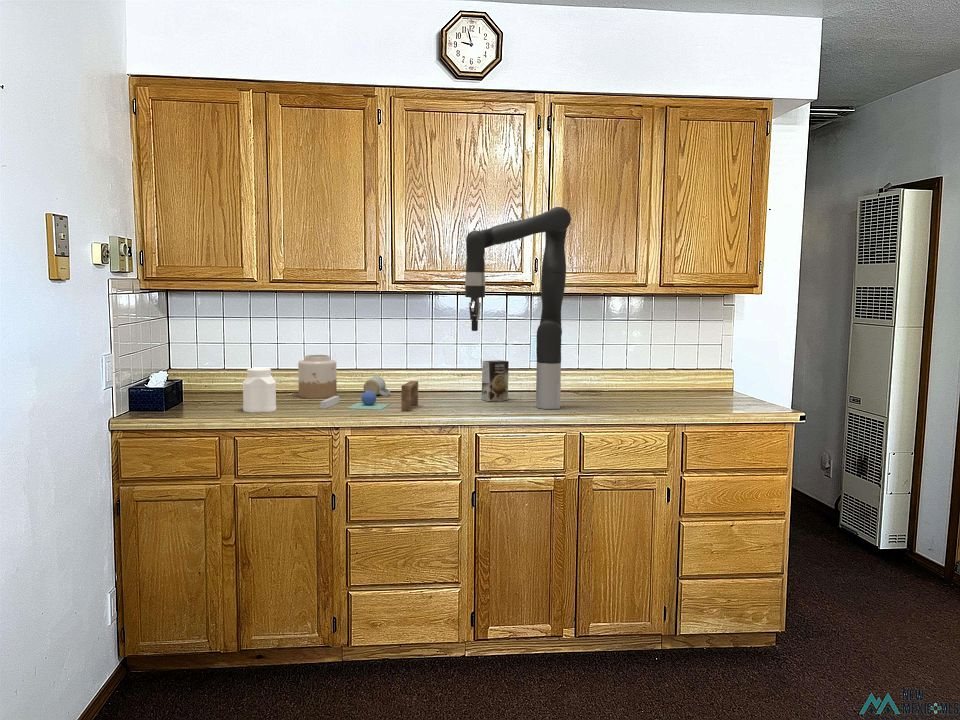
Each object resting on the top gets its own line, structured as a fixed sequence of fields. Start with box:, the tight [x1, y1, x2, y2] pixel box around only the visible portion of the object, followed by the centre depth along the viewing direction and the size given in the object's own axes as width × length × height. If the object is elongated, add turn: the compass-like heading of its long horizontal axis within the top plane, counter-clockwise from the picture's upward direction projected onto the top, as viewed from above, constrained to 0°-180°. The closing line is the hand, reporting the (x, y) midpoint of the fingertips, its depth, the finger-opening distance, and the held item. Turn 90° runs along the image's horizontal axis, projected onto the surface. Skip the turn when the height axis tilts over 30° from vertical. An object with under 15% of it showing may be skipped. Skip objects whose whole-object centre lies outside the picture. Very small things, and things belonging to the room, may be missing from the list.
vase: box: [297, 354, 338, 400], centre depth 305 cm, size 15×15×17 cm
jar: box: [242, 367, 277, 413], centre depth 269 cm, size 12×10×15 cm
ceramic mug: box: [363, 375, 391, 397], centre depth 310 cm, size 11×8×8 cm
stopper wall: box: [319, 395, 341, 410], centre depth 282 cm, size 2×16×2 cm, turn 172°
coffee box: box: [481, 359, 510, 402], centre depth 300 cm, size 9×6×16 cm
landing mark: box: [346, 402, 391, 411], centre depth 281 cm, size 13×13×1 cm
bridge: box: [400, 380, 419, 412], centre depth 278 cm, size 3×15×9 cm, turn 172°
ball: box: [361, 391, 377, 405], centre depth 283 cm, size 6×6×6 cm
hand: (474, 330), depth 281 cm, fingers closed
